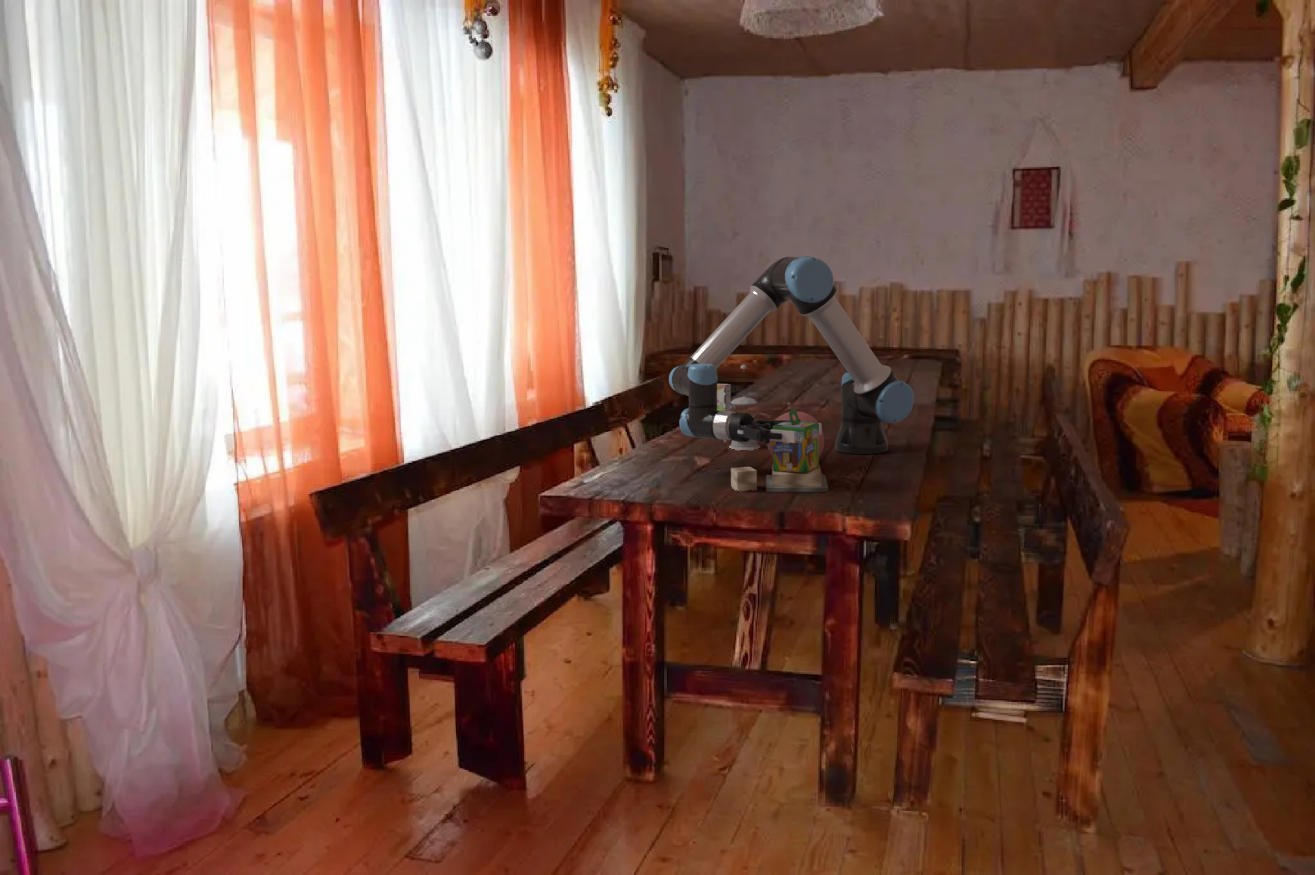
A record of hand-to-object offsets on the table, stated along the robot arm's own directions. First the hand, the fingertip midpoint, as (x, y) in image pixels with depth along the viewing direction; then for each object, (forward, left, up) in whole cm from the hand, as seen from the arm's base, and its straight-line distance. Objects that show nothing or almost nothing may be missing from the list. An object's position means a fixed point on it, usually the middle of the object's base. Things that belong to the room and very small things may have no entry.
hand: (808, 433), depth 264 cm
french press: (+18, -55, -14) cm, 59 cm away
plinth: (+3, -2, -14) cm, 14 cm away
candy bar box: (+28, -78, -14) cm, 84 cm away
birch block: (+16, +2, -14) cm, 21 cm away
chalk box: (+3, -2, -10) cm, 10 cm away
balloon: (+5, -24, -14) cm, 28 cm away
